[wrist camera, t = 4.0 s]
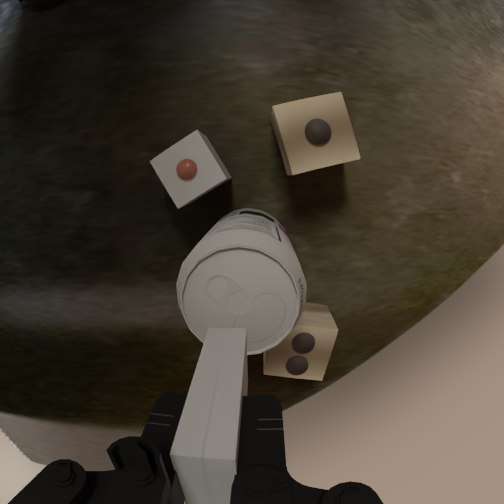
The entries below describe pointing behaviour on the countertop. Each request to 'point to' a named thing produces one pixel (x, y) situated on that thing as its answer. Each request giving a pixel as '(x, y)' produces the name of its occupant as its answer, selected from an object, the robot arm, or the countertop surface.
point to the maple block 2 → (304, 346)
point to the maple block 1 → (314, 133)
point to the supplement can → (243, 280)
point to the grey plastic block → (190, 169)
